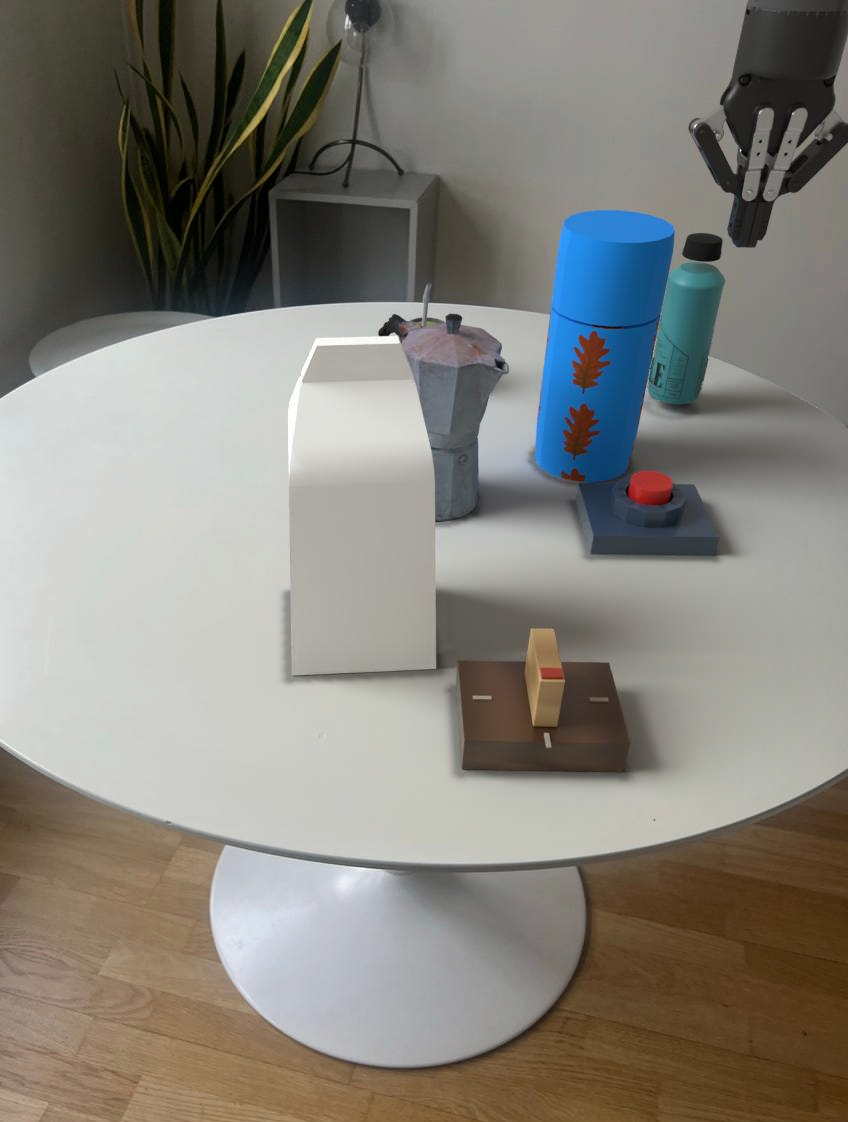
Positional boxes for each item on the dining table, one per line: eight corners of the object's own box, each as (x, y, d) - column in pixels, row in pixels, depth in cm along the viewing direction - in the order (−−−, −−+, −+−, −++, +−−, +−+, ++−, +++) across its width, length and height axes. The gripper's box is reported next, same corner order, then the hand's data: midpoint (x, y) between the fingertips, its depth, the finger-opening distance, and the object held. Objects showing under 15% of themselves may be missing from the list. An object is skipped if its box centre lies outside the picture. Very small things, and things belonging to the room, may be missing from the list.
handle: (524, 672, 75) (530, 625, 72) (547, 673, 75) (554, 625, 72) (532, 726, 71) (540, 678, 68) (557, 727, 71) (565, 678, 68)
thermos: (523, 473, 105) (552, 236, 89) (541, 430, 113) (570, 205, 97) (624, 490, 103) (672, 248, 87) (635, 444, 111) (681, 215, 95)
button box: (689, 502, 101) (698, 468, 98) (714, 556, 93) (724, 521, 91) (575, 500, 101) (580, 467, 99) (590, 554, 93) (596, 519, 91)
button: (664, 486, 96) (668, 470, 95) (673, 507, 93) (677, 491, 92) (624, 485, 96) (627, 470, 95) (632, 506, 93) (635, 491, 92)
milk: (291, 675, 80) (271, 377, 63) (290, 592, 88) (272, 312, 72) (436, 668, 80) (453, 372, 64) (420, 587, 89) (432, 308, 73)
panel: (602, 685, 79) (608, 655, 77) (625, 778, 71) (633, 748, 69) (455, 683, 79) (457, 653, 77) (462, 775, 71) (465, 745, 69)
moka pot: (469, 544, 95) (485, 347, 82) (346, 494, 102) (343, 307, 89) (518, 503, 101) (540, 314, 88) (399, 459, 108) (403, 278, 95)
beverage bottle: (709, 408, 118) (750, 238, 105) (669, 421, 115) (707, 249, 102) (669, 388, 122) (705, 223, 109) (631, 401, 119) (662, 233, 107)
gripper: (873, -6, 73) (806, 232, 84) (698, -7, 73) (655, 230, 84) (914, 7, 68) (837, 260, 78) (724, 6, 68) (674, 258, 79)
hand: (742, 244), depth 81 cm, fingers closed
